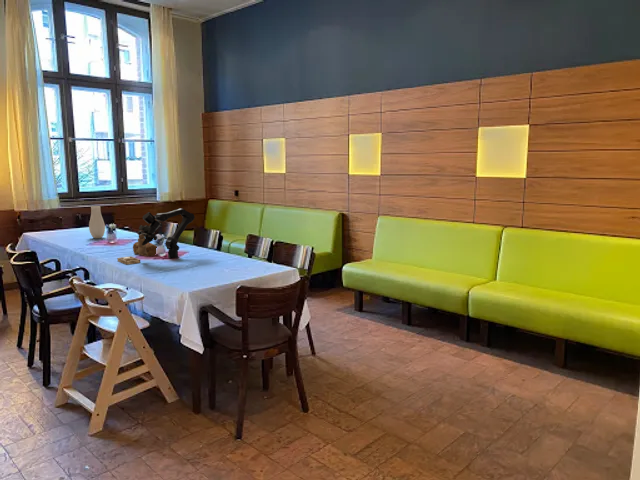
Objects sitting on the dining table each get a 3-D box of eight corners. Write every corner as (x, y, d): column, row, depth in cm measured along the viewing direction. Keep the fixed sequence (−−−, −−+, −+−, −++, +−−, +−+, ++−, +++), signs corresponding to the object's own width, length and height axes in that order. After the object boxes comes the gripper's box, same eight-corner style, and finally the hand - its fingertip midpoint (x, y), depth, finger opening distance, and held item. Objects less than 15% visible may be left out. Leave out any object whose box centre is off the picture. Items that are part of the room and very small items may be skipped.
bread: (132, 254, 383) (132, 241, 381) (144, 252, 391) (144, 240, 390) (146, 257, 372) (146, 244, 370) (158, 255, 380) (158, 242, 379)
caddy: (131, 259, 361) (130, 256, 360) (140, 263, 349) (140, 259, 349) (117, 261, 354) (117, 258, 353) (126, 265, 342) (126, 261, 342)
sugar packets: (128, 260, 357) (128, 257, 356) (130, 260, 355) (130, 257, 354) (122, 261, 354) (122, 257, 353) (124, 261, 352) (124, 258, 351)
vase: (106, 238, 457) (104, 206, 452) (90, 239, 450) (88, 207, 445) (104, 236, 469) (102, 205, 464) (89, 237, 462) (86, 206, 457)
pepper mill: (146, 252, 354) (145, 233, 351) (146, 253, 349) (144, 234, 346) (139, 253, 352) (137, 233, 349) (138, 254, 347) (137, 234, 344)
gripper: (138, 219, 355) (125, 236, 349) (152, 222, 343) (139, 239, 337) (148, 229, 362) (136, 245, 356) (163, 231, 351) (150, 248, 344)
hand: (140, 244), depth 348 cm, fingers closed on pepper mill, 5 cm apart
